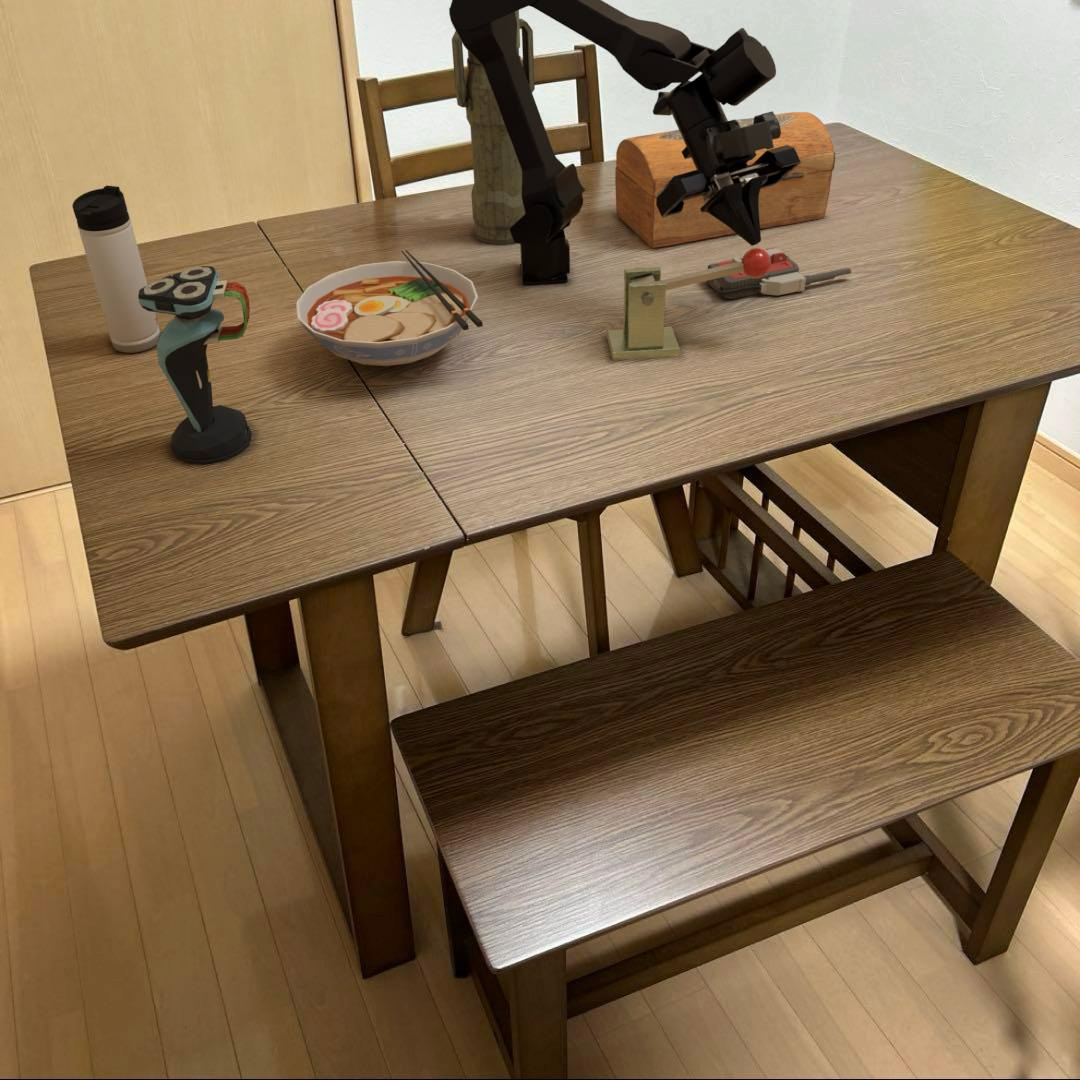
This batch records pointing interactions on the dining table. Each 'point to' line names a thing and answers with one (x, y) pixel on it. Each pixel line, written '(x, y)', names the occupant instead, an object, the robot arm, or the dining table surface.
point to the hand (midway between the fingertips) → (756, 243)
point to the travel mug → (116, 268)
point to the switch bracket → (643, 320)
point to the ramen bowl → (388, 311)
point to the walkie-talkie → (768, 278)
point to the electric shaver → (197, 361)
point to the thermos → (492, 143)
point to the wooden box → (787, 202)
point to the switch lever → (721, 270)
